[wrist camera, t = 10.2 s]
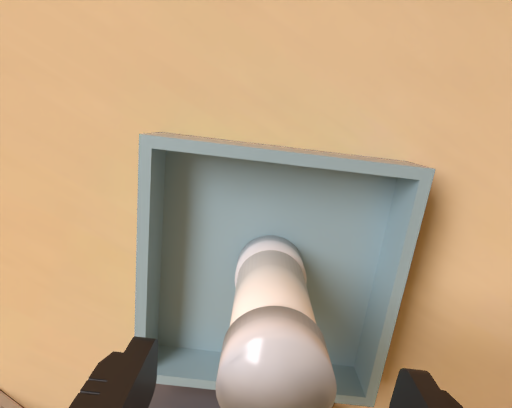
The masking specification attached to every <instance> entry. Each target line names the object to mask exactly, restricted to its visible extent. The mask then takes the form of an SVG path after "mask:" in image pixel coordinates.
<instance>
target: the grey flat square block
mask: <svg viewBox="0 0 512 408" xmlns="http://www.w3.org/2000/svg"><path fill="white" fill-rule="evenodd" d="M149 408H220V406H219V403H218V400H217V397H216V390H211V389H202V388H193V387H183V386H174V385H165V384H156V386H155V390H154V394H153V397H152V400H151V402H150V405H149Z"/></svg>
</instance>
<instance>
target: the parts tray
mask: <svg viewBox="0 0 512 408" xmlns="http://www.w3.org/2000/svg"><path fill="white" fill-rule="evenodd" d="M434 173H435V169H433V168H429V167H426V166H422V165H418V164H415V163H411V162H407V161H399V160H390V159H382V158H373V157H365V156H357V155H348V154H340V153H331V152H323V151H314V150H306V149H298V148H289V147H281V146H272V145H264V144H256V143H247V142H239V141H230V140H222V139H213V138H205V137H197V136H188V135H180V134H171V133H163V132H155V133H144V134H139V164H138V208H137V252H136V295H135V336H136V337H145V338H154V339H158V363H157V380H156V384H165V385H174V386H183V387H193V388H202V389H211V390H216V379H217V374H218V368H219V362H220V357H221V351H222V346H223V340H224V337H225V334H226V332H227V331H228V329H229V327H230V321H231V315H232V308H233V302H234V296H235V290H236V287H235V272H236V267H237V261H238V257H239V254H240V252H241V250H242V249H243V248H244V246H245V245H246V244H247V243H249V242H250V241H252V240H253V239H255V238H257V237H261V236H266V235H274V236H279V237H282V238H285V239H287V240H288V241H290V242H291V243H292V244H294V245H295V247H296V248H297V249H298V251H299V253H300V255H301V257H302V261H303V264H304V268H305V272H306V277H307V282H306V287H307V290H308V294H309V298H310V302H311V306H312V310H313V313H314V317H315V321H316V324H317V326H318V327H319V329H320V330H321V332H322V334H323V337H324V340H325V343H326V347H327V350H328V354H329V357H330V361H331V364H332V368H333V372H334V375H335V379H336V385H337V392H336V398H335V401H334V403H340V404H349V405H359V406H368V407H374V404H375V401H376V397H377V393H378V389H379V385H380V381H381V377H382V374H383V370H384V366H385V362H386V358H387V354H388V350H389V347H390V343H391V339H392V335H393V331H394V327H395V323H396V320H397V316H398V312H399V308H400V304H401V300H402V296H403V293H404V289H405V285H406V281H407V277H408V273H409V269H410V265H411V262H412V258H413V254H414V250H415V246H416V242H417V238H418V235H419V231H420V227H421V223H422V219H423V215H424V211H425V208H426V204H427V200H428V196H429V192H430V188H431V184H432V181H433V177H434Z"/></svg>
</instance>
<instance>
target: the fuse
mask: <svg viewBox="0 0 512 408" xmlns="http://www.w3.org/2000/svg"><path fill="white" fill-rule="evenodd" d="M306 282H307V277H306V272H305V268H304V264H303V261H302V257H301V255H300V253H299V251H298V249H297V248H296V247H295V245H294V244H292V243H291V242H290V241H288V240H287V239H285V238H282V237H279V236H274V235H266V236H261V237H257V238H255V239H253V240H252V241H250V242H249V243H247V244H246V245H245V246H244V248H243V249H242V250H241V252H240V254H239V257H238V261H237V267H236V272H235V287H236V290H235V296H234V302H233V308H232V315H231V321H230V327H229V329H228V331H227V332H226V334H225V337H224V340H223V346H222V351H221V357H220V362H219V368H218V374H217V379H216V397H217V400H218V403H219V406H220V408H332V406H333V404H334V401H335V398H336V392H337V385H336V379H335V375H334V372H333V368H332V364H331V361H330V357H329V354H328V350H327V347H326V343H325V340H324V337H323V334H322V332H321V330H320V329H319V327H318V326H317V324H316V321H315V317H314V313H313V310H312V306H311V302H310V298H309V294H308V290H307V287H306Z"/></svg>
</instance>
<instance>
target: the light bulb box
mask: <svg viewBox="0 0 512 408" xmlns="http://www.w3.org/2000/svg"><path fill="white" fill-rule="evenodd" d="M0 408H23V407H21V406H20V405H19V404H17V403H16V402H15V401H13V400H12V399H11V398H10V397H8V396H7V395H6V394H4V393H3V392H2V391H0Z"/></svg>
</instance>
